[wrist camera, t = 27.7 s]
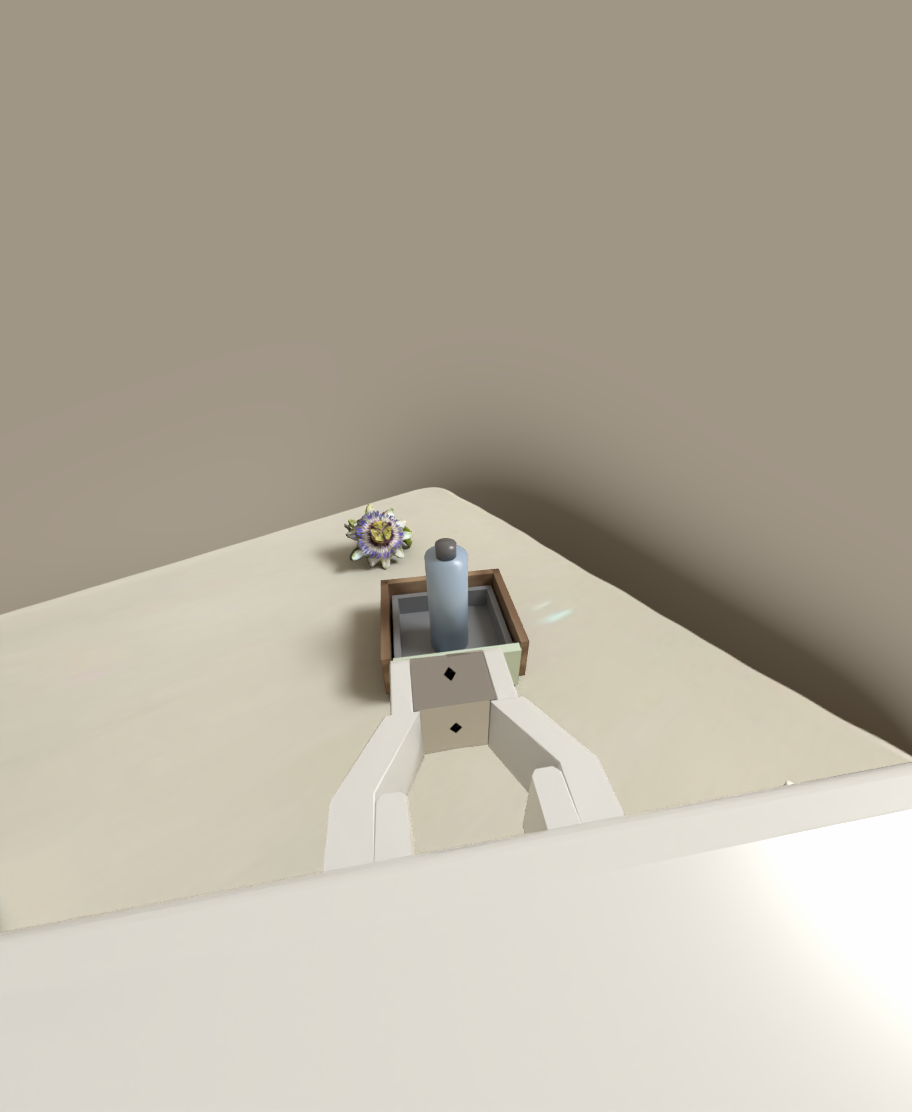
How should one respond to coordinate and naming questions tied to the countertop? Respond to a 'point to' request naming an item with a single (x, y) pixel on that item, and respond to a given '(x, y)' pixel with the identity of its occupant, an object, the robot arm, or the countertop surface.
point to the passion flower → (378, 536)
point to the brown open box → (420, 585)
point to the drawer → (482, 628)
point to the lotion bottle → (447, 595)
